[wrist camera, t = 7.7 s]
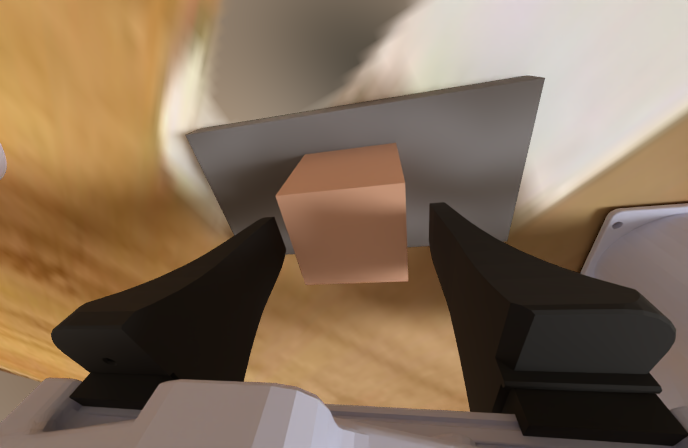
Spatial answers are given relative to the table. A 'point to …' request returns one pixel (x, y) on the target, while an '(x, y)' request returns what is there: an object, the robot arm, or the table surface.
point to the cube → (348, 216)
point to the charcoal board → (385, 128)
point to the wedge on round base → (2, 163)
